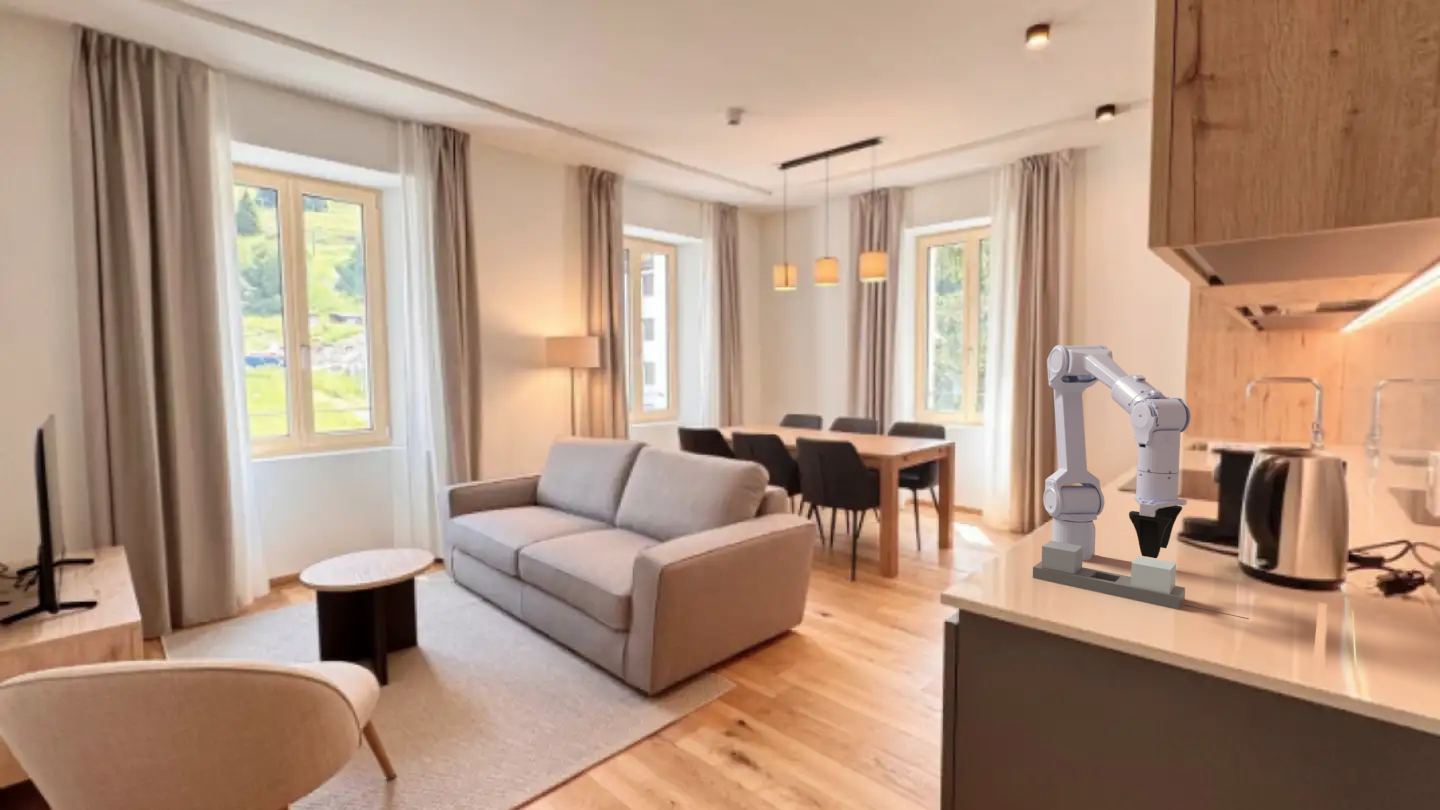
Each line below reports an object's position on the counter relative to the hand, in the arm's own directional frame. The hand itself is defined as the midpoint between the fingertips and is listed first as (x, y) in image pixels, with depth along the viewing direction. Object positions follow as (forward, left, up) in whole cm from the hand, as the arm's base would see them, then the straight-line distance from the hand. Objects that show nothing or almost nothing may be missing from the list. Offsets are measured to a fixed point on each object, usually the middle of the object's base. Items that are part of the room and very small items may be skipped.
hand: (1154, 551), depth 106 cm
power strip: (0, -3, -9) cm, 9 cm away
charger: (0, 0, -8) cm, 8 cm away
